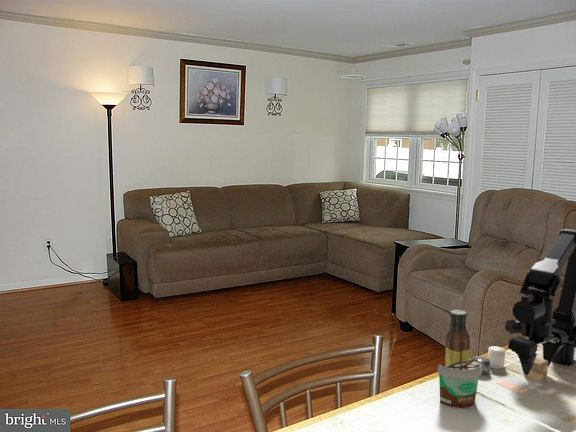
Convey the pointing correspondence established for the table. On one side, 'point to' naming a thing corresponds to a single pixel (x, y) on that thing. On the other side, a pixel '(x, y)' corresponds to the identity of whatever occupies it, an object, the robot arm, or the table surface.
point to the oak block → (538, 370)
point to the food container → (459, 383)
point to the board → (522, 383)
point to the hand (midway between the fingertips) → (536, 370)
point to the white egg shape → (496, 357)
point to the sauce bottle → (457, 339)
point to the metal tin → (484, 364)
